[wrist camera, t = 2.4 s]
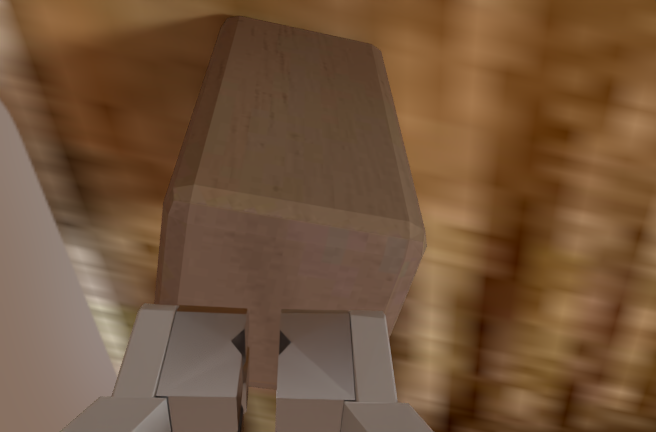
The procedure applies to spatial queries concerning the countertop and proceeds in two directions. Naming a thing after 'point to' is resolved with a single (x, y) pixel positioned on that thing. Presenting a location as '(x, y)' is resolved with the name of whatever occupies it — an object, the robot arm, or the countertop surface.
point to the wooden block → (290, 187)
